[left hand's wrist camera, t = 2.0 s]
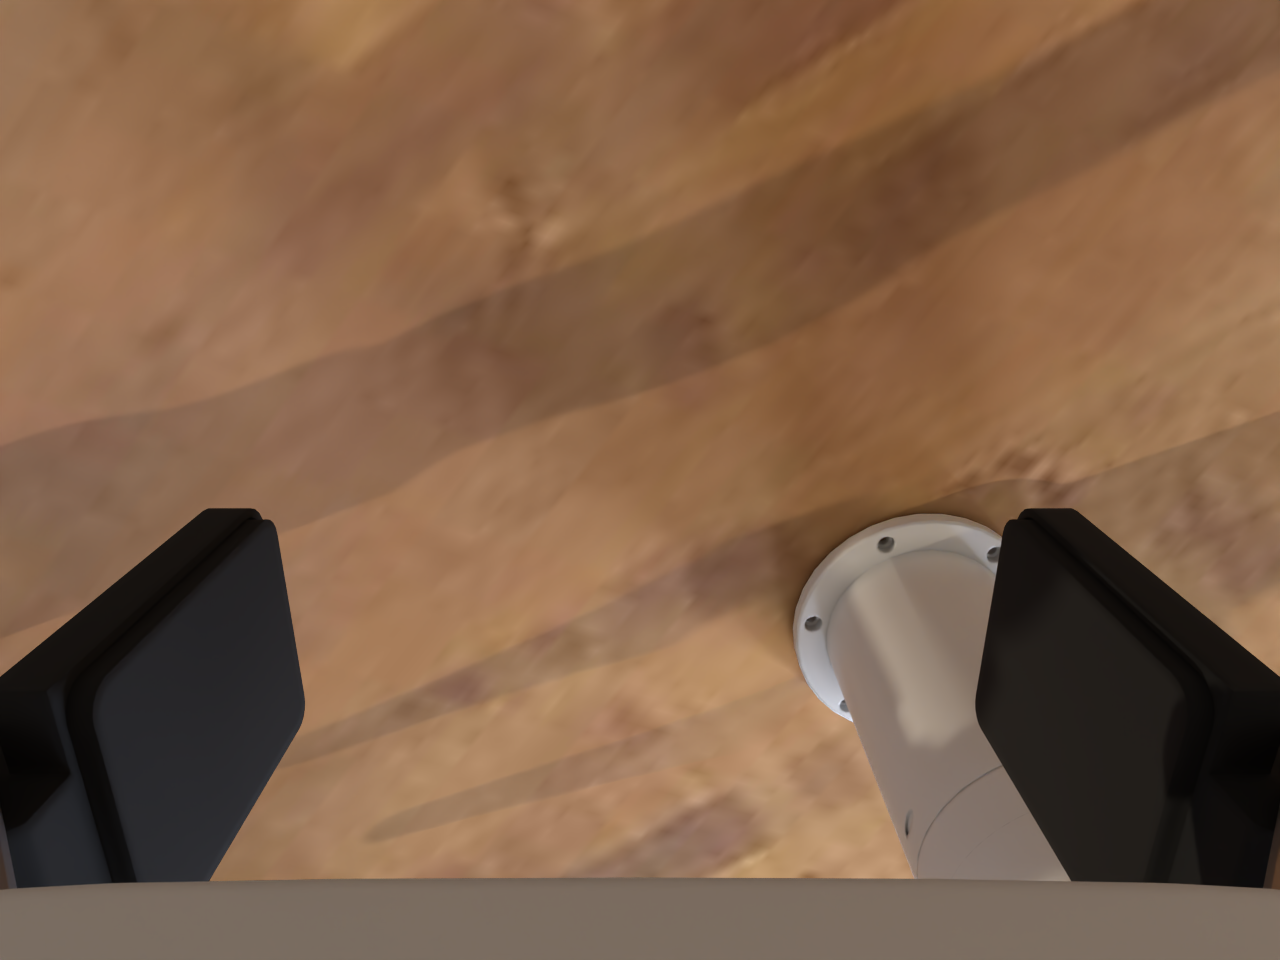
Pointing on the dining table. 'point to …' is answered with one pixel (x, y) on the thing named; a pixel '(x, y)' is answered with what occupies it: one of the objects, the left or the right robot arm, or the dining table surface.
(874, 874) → the dining table surface
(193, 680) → the left robot arm
